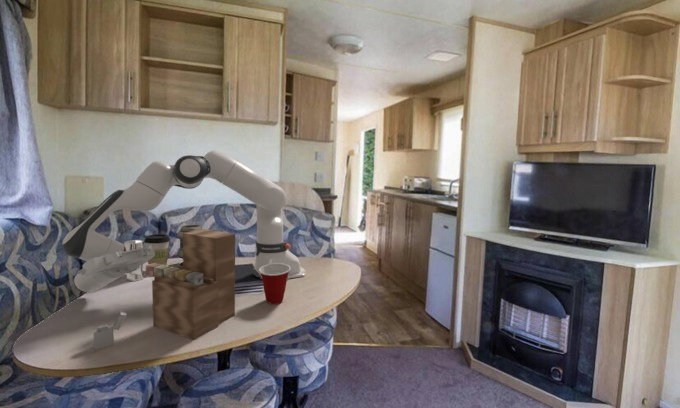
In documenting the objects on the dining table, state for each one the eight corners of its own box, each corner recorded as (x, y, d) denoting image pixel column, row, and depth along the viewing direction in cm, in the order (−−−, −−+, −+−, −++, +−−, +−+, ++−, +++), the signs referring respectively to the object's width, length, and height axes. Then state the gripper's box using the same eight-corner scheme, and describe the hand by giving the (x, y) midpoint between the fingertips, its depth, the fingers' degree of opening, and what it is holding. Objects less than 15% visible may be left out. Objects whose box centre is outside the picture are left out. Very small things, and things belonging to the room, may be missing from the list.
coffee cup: (139, 272, 147) (138, 237, 146) (157, 266, 157) (156, 233, 155) (158, 275, 145) (158, 239, 143) (175, 268, 154) (175, 235, 153)
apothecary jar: (174, 263, 163) (173, 224, 161) (200, 259, 170) (200, 222, 168) (181, 269, 153) (181, 229, 151) (209, 265, 161) (209, 226, 159)
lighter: (94, 349, 88) (92, 318, 87) (94, 346, 90) (92, 316, 89) (127, 341, 92) (126, 312, 92) (126, 339, 94) (125, 310, 93)
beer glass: (148, 276, 143) (148, 240, 141) (137, 282, 136) (136, 244, 135) (132, 275, 144) (131, 239, 142) (120, 280, 137) (119, 243, 135)
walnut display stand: (153, 326, 101) (151, 237, 99) (199, 305, 117) (198, 228, 114) (193, 339, 95) (193, 244, 92) (237, 316, 110) (237, 234, 107)
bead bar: (144, 274, 105) (144, 265, 104) (153, 272, 107) (153, 262, 107) (195, 286, 96) (195, 276, 96) (203, 283, 99) (203, 273, 99)
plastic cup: (251, 302, 121) (251, 268, 120) (271, 293, 131) (272, 261, 129) (276, 309, 116) (277, 274, 115) (295, 299, 126) (296, 266, 124)
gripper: (71, 265, 104) (95, 248, 99) (136, 251, 123) (160, 236, 117) (78, 285, 104) (103, 268, 98) (142, 267, 122) (166, 253, 117)
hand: (134, 250), depth 108 cm, fingers open, 8 cm apart
